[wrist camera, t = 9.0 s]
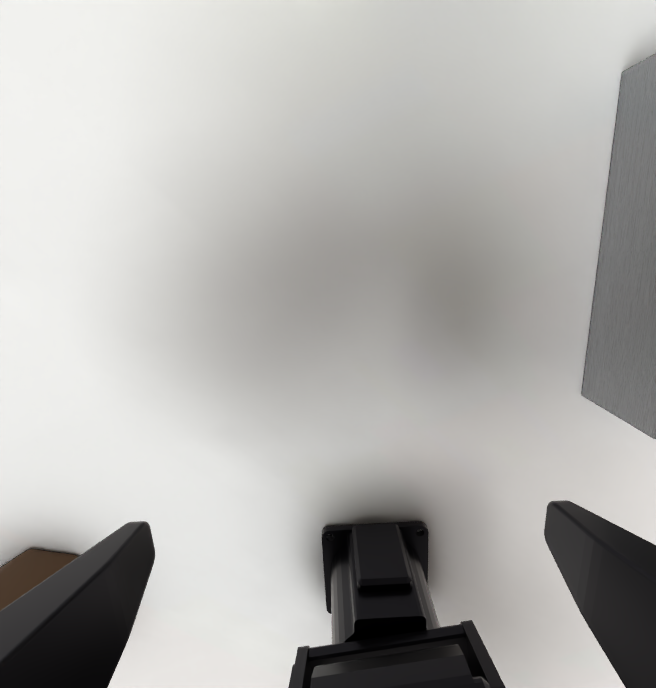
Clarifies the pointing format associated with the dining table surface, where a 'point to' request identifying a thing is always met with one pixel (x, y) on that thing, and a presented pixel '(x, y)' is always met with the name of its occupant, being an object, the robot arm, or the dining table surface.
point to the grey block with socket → (628, 264)
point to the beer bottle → (29, 572)
